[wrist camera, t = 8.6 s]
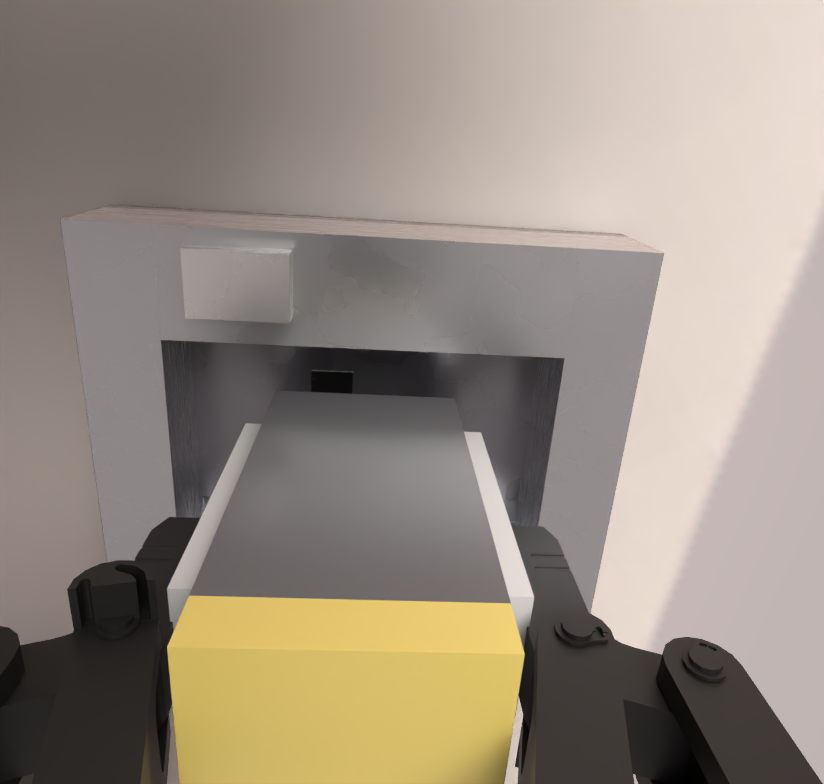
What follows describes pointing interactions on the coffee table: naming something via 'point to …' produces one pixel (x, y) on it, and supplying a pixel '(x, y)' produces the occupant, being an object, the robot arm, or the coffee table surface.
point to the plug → (349, 608)
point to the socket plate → (355, 349)
